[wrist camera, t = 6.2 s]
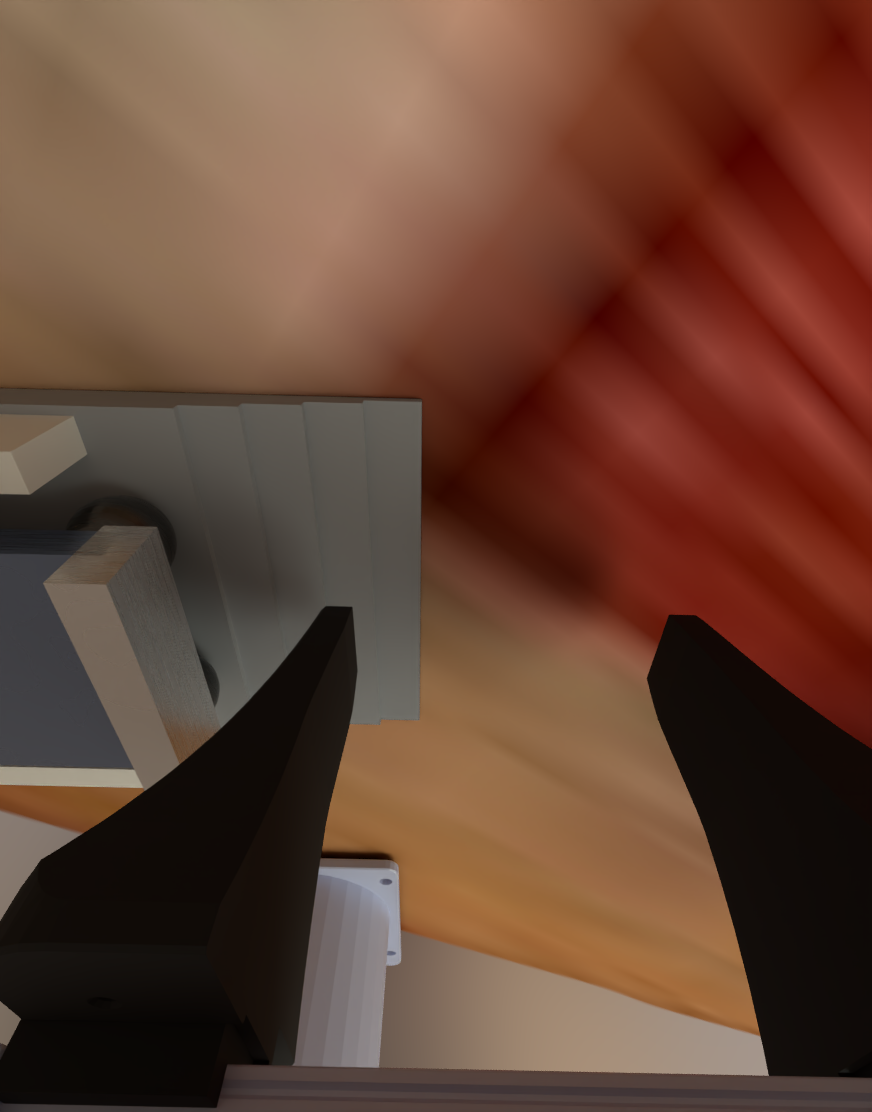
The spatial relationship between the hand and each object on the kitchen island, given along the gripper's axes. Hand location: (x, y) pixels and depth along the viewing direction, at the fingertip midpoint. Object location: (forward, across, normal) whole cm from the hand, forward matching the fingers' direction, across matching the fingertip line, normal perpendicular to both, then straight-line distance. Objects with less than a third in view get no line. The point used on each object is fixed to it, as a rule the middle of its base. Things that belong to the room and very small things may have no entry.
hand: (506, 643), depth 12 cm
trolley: (+1, +11, 0) cm, 11 cm away
